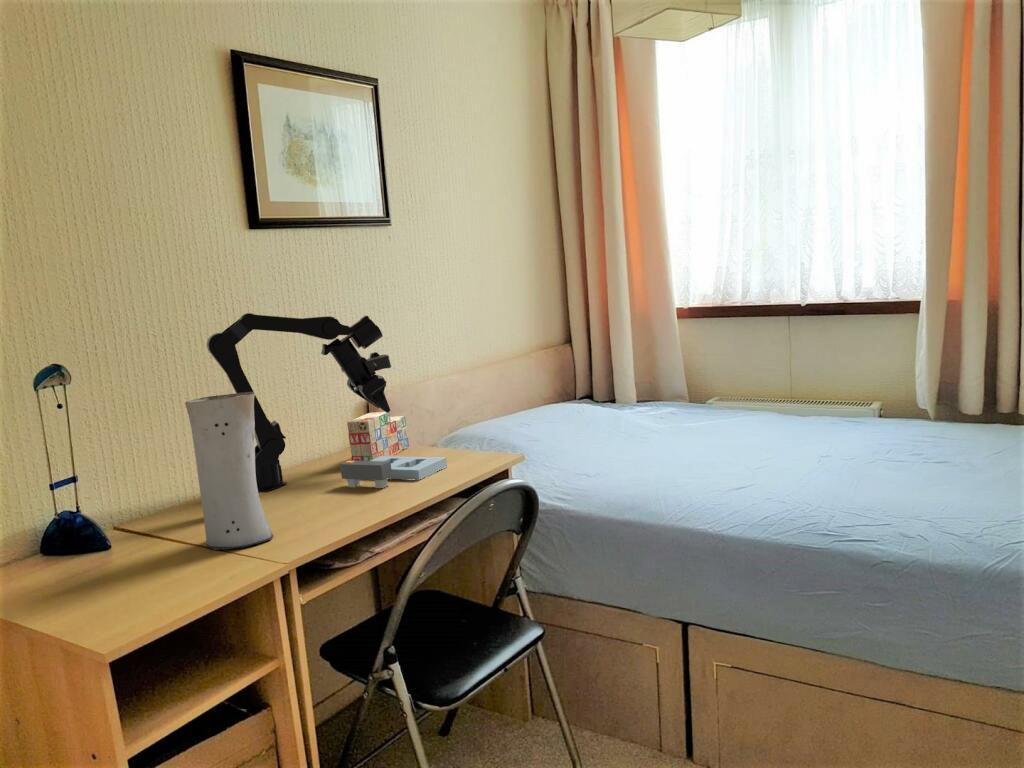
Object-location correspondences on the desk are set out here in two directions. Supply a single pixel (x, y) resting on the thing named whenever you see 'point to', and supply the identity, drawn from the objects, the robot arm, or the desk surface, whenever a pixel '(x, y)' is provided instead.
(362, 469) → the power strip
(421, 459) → the keyhole board
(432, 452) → the desk surface
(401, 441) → the stack of blocks
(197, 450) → the vase
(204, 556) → the desk surface
